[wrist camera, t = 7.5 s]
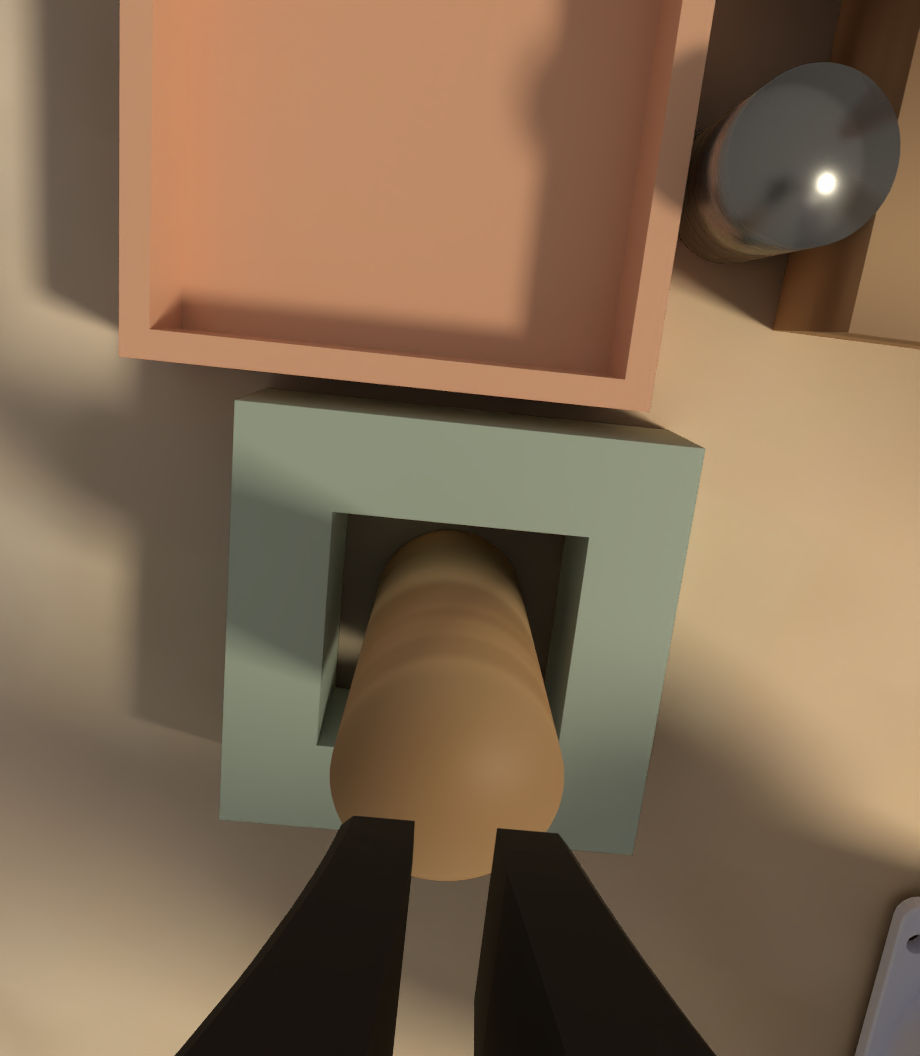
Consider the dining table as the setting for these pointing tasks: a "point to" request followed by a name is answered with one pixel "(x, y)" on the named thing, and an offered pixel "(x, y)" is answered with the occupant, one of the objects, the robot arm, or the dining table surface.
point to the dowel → (449, 709)
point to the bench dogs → (791, 166)
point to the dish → (408, 189)
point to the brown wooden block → (899, 224)
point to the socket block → (457, 498)
